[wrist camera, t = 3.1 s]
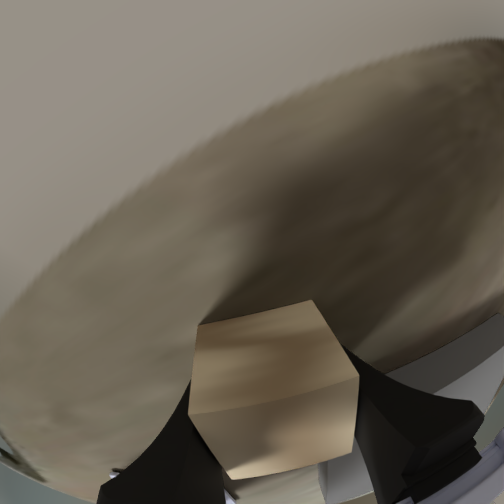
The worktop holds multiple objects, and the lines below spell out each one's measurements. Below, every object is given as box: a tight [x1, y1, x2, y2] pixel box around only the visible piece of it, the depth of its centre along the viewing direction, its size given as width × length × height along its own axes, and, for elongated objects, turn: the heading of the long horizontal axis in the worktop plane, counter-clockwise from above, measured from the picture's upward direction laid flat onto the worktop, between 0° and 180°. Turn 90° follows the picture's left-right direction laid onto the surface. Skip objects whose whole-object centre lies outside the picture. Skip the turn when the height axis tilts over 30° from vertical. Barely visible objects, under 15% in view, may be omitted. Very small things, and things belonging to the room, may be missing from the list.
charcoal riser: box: [318, 313, 504, 504], centre depth 15 cm, size 16×14×3 cm
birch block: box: [188, 300, 359, 480], centre depth 10 cm, size 5×5×5 cm
